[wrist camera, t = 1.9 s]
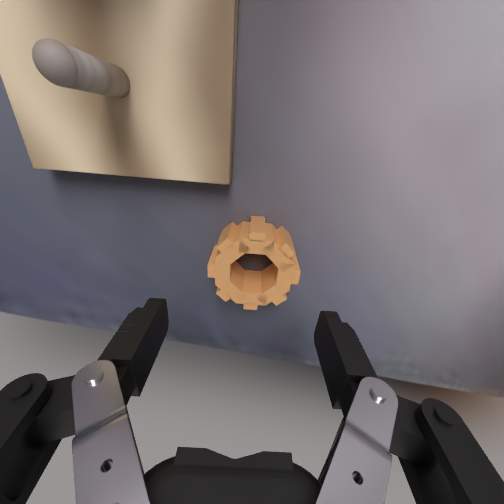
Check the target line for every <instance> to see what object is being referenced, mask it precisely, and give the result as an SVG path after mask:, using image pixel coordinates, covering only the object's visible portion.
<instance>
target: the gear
mask: <svg viewBox="0 0 504 504" xmlns="http://www.w3.org/2000/svg"><path fill="white" fill-rule="evenodd" d="M245 253H249V254H261V255H266V256H267V257H268V258H269V259H270V260H271V261H272V262H273V263H272V264H270V265H269V266H268V267H266V268H265V269H263V270H262V271H254V270H244V269H243V268H242V267H241V266H240V265H239V264H238V263H237V262H236V260H237V259H238V258H240V257H241V256H242V255H244V254H245ZM300 273H301V272H300V268H299V265H298V261H297V258H296V253H295V250H294V246H293V243H292V239H291V236H290V234H289V233H288V232H287V230H286V229H285V228H284V227H283V226H280V227H279V228H278V229H276V228H275V227H274V225H273V224H270V223H265V217H264V216H252V215H251V222H246V221H242V222H241V223H240V224H239V225H238V226H237V225H236V224H235V223H234V222H233V221H232V222H231V223H229V224H228V225H227V226H226V227H225V228H223V229H222V232H221V235H220V238H219V241H218V243H217V245H215V246H214V249H213V252H212V254H211V257H210V260H209V262H208V277H212V278H215V285H216V286H217V291H216V294H217V295H218V296H219V297H221V298H222V299H223V300H224V301H225V302H226V301H227V300H229V299H230V298H231V299H232V300H233V301H234V302H235V303H239V304H244V309H249V310H257V306H258V305H264V306H266V305H267V304H269V303H270V302H273V303H274V304H275V305H276V306H277V305H278V304H280V303H281V302H283V301H285V300H286V299H287V295H286V292H288V291H290V285H291V284H298V282H299V277H300Z"/></svg>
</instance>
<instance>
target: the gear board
mask: <svg viewBox="0 0 504 504" xmlns="http://www.w3.org/2000/svg"><path fill="white" fill-rule="evenodd" d="M237 13H238V0H0V74H1V77H2V80H3V82H4V85H5V88H6V91H7V94H8V97H9V100H10V102H11V105H12V108H13V111H14V114H15V117H16V120H17V122H18V125H19V128H20V131H21V134H22V137H23V140H24V142H25V145H26V148H27V151H28V154H29V157H30V160H31V162H32V165H33V168H39V169H51V170H63V171H74V172H86V173H98V174H110V175H121V176H133V177H145V178H157V179H168V180H180V181H192V182H204V183H215V184H227V185H229V184H230V182H231V180H232V155H233V127H234V98H235V70H236V42H237Z"/></svg>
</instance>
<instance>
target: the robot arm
mask: <svg viewBox="0 0 504 504" xmlns="http://www.w3.org/2000/svg"><path fill="white" fill-rule="evenodd" d="M168 324H169V320H168V311H167V302H166V299H159V298H149V299H148V301H147V302H146V304H145V306H144V307H143V308H138V307H137V308H136V309H135V310H133V311H132V312H131V313H130V314H128V316H127V317H126V319H125V320H124V322H123V324H122V325H121V326H120V327H119V329H118V332H116V333H115V335H114V336H113V338H112V339H111V341H110V343H109V344H108V345H107V347H106V348H105V350H104V351H103V353H102V354H101V356H100V357H99V359H98V360H97V361H95V362H92V363H90V364H88V365H86V366H85V367H83V368H82V369H81V370H80V371H79V372H78V373H77V374H76V375H73V376H69V377H65V378H60V379H56V380H51V381H47V379H46V377H45V376H44V375H42V374H39V373H33V374H28V375H24V376H22V377H19V378H17V379H15V380H14V381H12V382H10V383H9V384H7V385H6V386H5V387H4V388H3V389H2V390H1V391H0V504H26V502H27V500H28V498H29V496H30V495H31V493H32V491H33V489H34V488H35V486H36V484H37V482H38V481H39V479H40V477H41V475H42V473H43V472H44V470H45V468H46V466H47V465H48V463H49V461H50V459H51V457H52V456H53V454H54V452H55V450H56V449H57V447H58V445H59V443H60V441H61V440H62V438H65V437H69V436H72V435H75V437H74V438H73V440H72V454H73V468H74V483H75V497H76V504H384V503H385V498H386V492H387V487H388V481H389V476H390V470H391V465H392V455H391V454H394V455H396V456H398V458H399V460H400V463H401V466H402V468H403V471H404V473H405V476H406V478H407V481H408V483H409V486H410V489H411V491H412V494H413V496H414V499H415V501H416V504H504V482H503V480H502V479H501V477H500V476H499V474H498V473H497V471H496V470H495V468H494V467H493V465H492V463H491V462H490V461H489V459H488V457H487V456H486V454H485V453H484V451H483V450H482V448H481V447H480V445H479V444H478V442H477V441H476V439H475V438H474V437H473V435H472V433H471V432H470V430H469V429H468V427H467V426H466V424H465V423H464V421H463V420H462V418H461V417H460V416H459V415H458V414H457V412H456V411H455V410H453V409H452V408H451V407H450V406H448V405H447V404H445V403H444V402H442V401H440V400H437V399H433V398H427V399H425V400H423V402H422V403H421V404H418V403H416V402H413V401H410V400H407V399H405V398H402V397H400V396H397V395H396V394H395V393H394V391H393V390H392V389H391V387H390V386H389V385H387V384H386V383H385V382H383V381H382V380H380V379H378V377H377V375H376V373H375V371H374V369H373V367H372V365H371V363H370V361H369V359H368V357H367V355H366V353H365V351H364V349H363V347H362V345H361V343H360V341H359V339H358V337H357V335H356V333H355V331H354V330H353V329H352V328H351V327H350V326H349V324H348V323H344V322H341V319H340V317H339V315H338V313H337V312H333V311H321V312H320V315H319V318H318V322H317V325H316V328H315V332H314V343H315V347H316V350H317V354H318V357H319V361H320V365H321V368H322V371H323V375H324V379H325V382H326V386H327V390H328V393H329V397H330V400H331V403H332V407H333V409H342V412H343V415H344V417H343V419H342V421H341V424H340V427H339V429H338V431H337V434H336V437H335V439H334V442H333V444H332V447H331V449H330V452H329V454H328V457H327V459H326V462H325V464H324V466H323V469H322V471H321V473H320V476H319V478H318V480H317V479H316V478H315V477H314V476H313V475H312V474H311V473H310V472H308V471H307V470H305V469H304V468H303V467H301V466H299V465H297V464H295V463H293V462H292V453H286V452H267V451H263V452H260V453H256V454H253V455H249V456H245V457H242V458H239V459H232V458H229V457H227V456H224V455H222V454H219V453H216V452H214V451H212V450H209V449H206V448H190V447H178V448H177V452H176V456H175V457H172V458H169V459H167V460H164V461H162V462H161V463H159V464H157V465H155V466H154V467H153V468H152V469H150V470H149V471H148V472H146V473H145V474H144V471H143V467H142V463H141V459H140V456H139V452H138V448H137V445H136V441H135V437H134V433H133V429H132V426H131V422H130V418H129V415H128V411H127V407H126V406H127V403H128V401H129V399H130V397H131V396H140V394H141V392H142V390H143V387H144V385H145V383H146V380H147V378H148V376H149V373H150V371H151V369H152V366H153V364H154V362H155V359H156V357H157V355H158V352H159V350H160V348H161V345H162V343H163V341H164V338H165V336H166V333H167V330H168ZM389 453H391V454H389Z"/></svg>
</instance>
